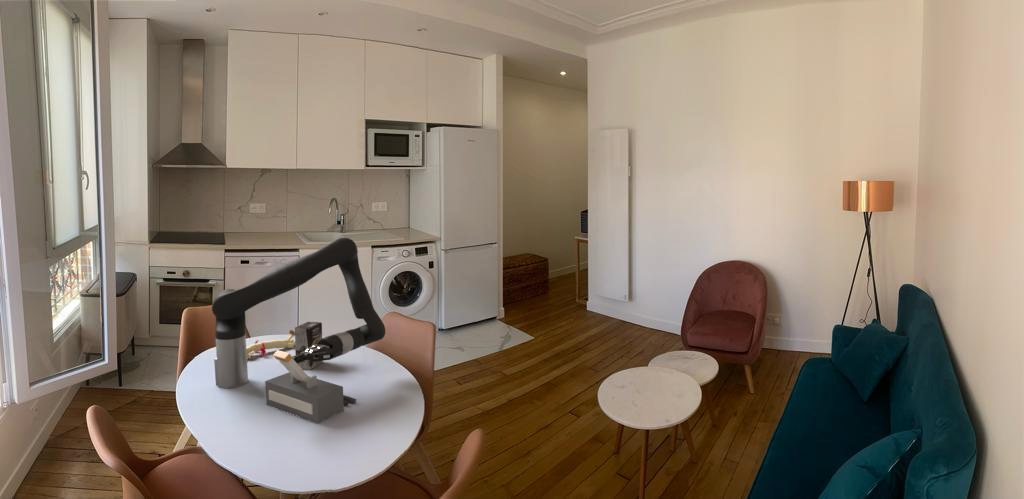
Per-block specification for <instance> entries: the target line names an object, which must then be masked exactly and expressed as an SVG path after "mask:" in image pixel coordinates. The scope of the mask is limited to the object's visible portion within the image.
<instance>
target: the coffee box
mask: <svg viewBox="0 0 1024 499" xmlns="http://www.w3.org/2000/svg"><path fill="white" fill-rule="evenodd" d="M294 332H295V335H294V342H295V348H294V350H295V352H294V353H295V355H298V351H299V349H300V348H301V347H302V346H303V345H304V346H306V348H309V347H311V346H313V345H316V344H318V343H319V341H320V340H321V339H322V338H323V323H322V322H321V321H320V322H318V321H306V322H305V323H301V324H300V325H298V326H296V327H294ZM323 362H324V361H316V362H310V361H307V362H305V361H303V362H301V363H298V365H299V366H300V367H301V369H302V370H312V369H313V368H315V367H316V366H319V365H320V364H321V363H323Z"/></svg>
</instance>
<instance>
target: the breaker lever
mask: <svg viewBox="0 0 1024 499" xmlns="http://www.w3.org/2000/svg"><path fill="white" fill-rule="evenodd" d="M272 356H273V357H274V358H275V359H276V360H278V362H279V363H281V365H282V366H283V367H284V368H285V369H286V370H287V371H288V373H289V372H290V373H291V374H292V375H293V376H294V378H295V379H296V380H299V381H303V382H306V383H307V378H309V377H308V376H309V375H308V374H307V373H306V372H305V371H304V369H301V367H300V366H299V365H298V364H297V363H296V362H295V361H294V360H293V357H292V355H291V354H290V352H286V351H284V350H283V351H282V350H279V349H277V350H276V351H275V352H274V353H273V355H272Z"/></svg>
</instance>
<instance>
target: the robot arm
mask: <svg viewBox="0 0 1024 499" xmlns="http://www.w3.org/2000/svg"><path fill="white" fill-rule="evenodd" d="M358 252H359V251H358V246H357V244H356V242H354V240H353V239H351V238H349V237H339V238H337V239H335V240H334V241H331V242H330V243H328V244H327V245H325V246H324V247H322V248H320V249H317V250H316V251H314V252H311V253H309V254H306V255H303V256H301V257H299V258H296V259H294V260H291V261H289V262H287V263H284V264H282V265H279V266H277V267H276V268H273V269H272V270H270V271H268V272H267V273H264V274H263V275H262V276H260V277H259V278H257V279H256V280H254V281H253V282H251V283H249V284H248V285H245V286H243V287H241V288H238V289H233V288H227V289H223V290H221V291H220V292H219V293H217V295H216V296H215V297H214V299H213V301H212V305H211V311H212V314H213V315H214V317H215V329H214V335H215V337H214V338H215V348H216V349H215V350H216V357H215V358H214V360H213V362H214V363H213V364H214V376H215V386H218V387H219V388H223V389H231V388H238V387H241V386H243V385H246V384H247V383H248V382H249V374H248V359H247V352H246V346H247V338H246V335H247V334H246V311H248V310H250V309H252V308H253V307H255V306H257V305H258V304H261V303H263V302H266V301H268V300H271V299H273V298H275V297H278V296H281V295H283V294H285V293H287V292H290V291H292V290H294V289H296V288H298V287H301V286H302V285H304V284H306V283H307V282H309V281H311V279H314V277H316V276H317V275H318V274H320V273H321V272H324V271H326V270H328V269H331V268H332V267H334V266H337V265H338V267H339V269H340V271H341V273H342V275H343V279H344V281H345V285H346V288H347V293H348V298H349V301H350V304H351V307H352V311H353V313H354V316H355V318H356V319H357V320H363V321H364V322H365V324H364V325H361V326H358V327H357V328H353V329H349V330H345V331H342V332H337V333H335V334H331V335H328V336H325V337H322V339H321V340H320V341H319V343H318V344H316V345H313V346H311V347H309V348H306V346H304V345H303V346H302V347H301V348H300V349H299V351H298V355H296V354H295V355H293V356H292V355H291V356H292V357H293V360H294V361H295V362H296V363H297V364H298V363H301V362H303V361H305V362H307V361H310V362H316V361H323V362H324V361H330V360H333V359H335V358H338V357H340V356H341V357H342V356H343V355H346V354H347V353H349V352H352V351H354V350H357V349H359V348H361V347H363V346H367V345H369V344H372V343H376V342H379V341H381V340H382V339H384V337H385V335H386V327H385V324H384V322H383V320H382V319H381V317H380V316H379V313H378V312H376V309H374V304H373V302H372V299H371V296H370V293H369V290H368V288H367V285H366V283H365V281H364V279H363V275H362V272H361V269H360V263H359V256H358V254H359V253H358Z"/></svg>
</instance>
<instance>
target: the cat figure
mask: <svg viewBox="0 0 1024 499" xmlns="http://www.w3.org/2000/svg"><path fill="white" fill-rule="evenodd" d="M288 334H290V335H289V336H288V337H287V338H286V339H273V340H265V341H259V339H257V340H255V342H254V343H252V344H249V345H246V352H247V360H248V359H251V357H252V355H255V354H257V353H258V352H260V354H261V355H262V357H265V355H266V354H267V352H266V350H270V349H271V350H272V349H286V348H287V349H290V348H293V347H294V349H295V339H293V338H295V330H293V329H289V330H288Z"/></svg>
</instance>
